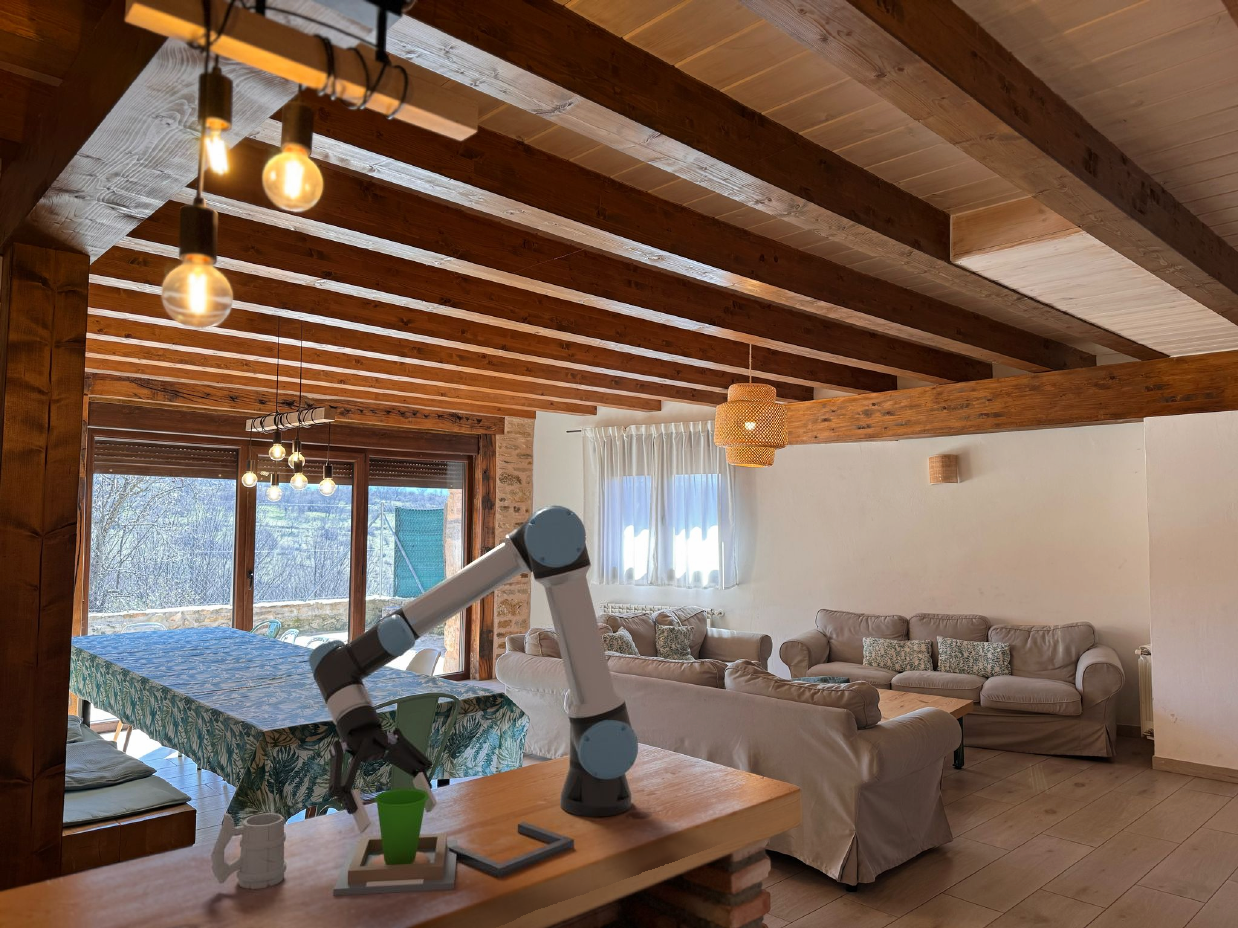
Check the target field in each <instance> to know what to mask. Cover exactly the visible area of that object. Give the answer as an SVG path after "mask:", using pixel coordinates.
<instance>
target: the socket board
mask: <svg viewBox="0 0 1238 928" xmlns="http://www.w3.org/2000/svg"><path fill="white" fill-rule="evenodd" d="M455 845H457V846H458V839H456V840H455V839H454V840H451V839H450V840H448V833H447V832H443V833H441V832H440V833H422V834H421V833H420V835H419V841H418V847H417V852H416V858H415V860H414V862H413V863H412V864H401V865H386V863H385V861H384V855H383V847H382V839H381V835H371V836H360V839H359V841H358V843H356V844H351V845H350V847H349V850H348V852H347V855H346V857H345V860H344V861H343V864H342V867H341V869H340V872H339V874H338V877H337V879H336V882H335V884H334V887H333V889H332V890H333V891H332V892H333V893H332V895H333V896H352V895H368V894H371V895H372V894H388V893H389V894H390V893H407V892H408V893H409V892H424V891H425V892H427V891H428V892H429V891H445V890H450V891H451V890H454V889H455V881H456V880H455V878H456V868H457V867H456V865H457V860H456V853H454V852H451V851H449V847H452V846H455Z"/></svg>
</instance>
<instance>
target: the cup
mask: <svg viewBox="0 0 1238 928" xmlns="http://www.w3.org/2000/svg"><path fill="white" fill-rule="evenodd" d="M427 798H428V794H427V792H425V791H423V790H419V789H416V788H407V787H405V788H403V787H402V788H394V789H390V790H385V791H382V792H380V793H378V794H377V795H376V796H375V798H374V802H375V803H376V804H377V813H378V814H377V815H378V823H379V828H380V836H381V839H382V847H383V855H384V861H385V863H386V865H401V864H412V863H413V862H414V860H415V858H416V852H417V847H418V841H419V835H420V834H421V829H422V825H423V824H422V823H423V818H424V811H425V802H426V799H427Z"/></svg>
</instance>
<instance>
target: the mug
mask: <svg viewBox="0 0 1238 928" xmlns="http://www.w3.org/2000/svg"><path fill="white" fill-rule="evenodd" d="M240 834H241V837H240V839H239V847H240V856H239V857H238V858H236V859H234V860H232V861H231V862H227V861H226V859H225V852H226V851H225V849H226V847H227V845H228V844H229V842H230V840H231V839H232V838H233V837H234V836H237V835H240ZM286 837H287V833H286V832H285V818H284V816H282V814H280V813H273V812H271V813H270V812H267V813H265V812H264V813H261V814H255V815H251V816H249V817H247V818H245V819H244V820H243V822H242V825H238V826H236V825H235V822H234V819H233V817H232V815H231V814H229V813H227V812H224V813H223V823H222V826H221V828H220V831H219V834H218V837H217V839H216V841H215V843H214V847H213V849H212V852H211V854H210V859H211V862H212V863H211V870H212V873H213V875H214V878H216V880H217V882H218V883H219V884H224V883H225V881H226V880H227V879H228V878H229V877H230V876H231V875H232V874H233V873H235V872H236V878H237V879H238V880H237V881H238V886H240V887H241V888H244V889H247V890H248V889H251V890H257V889H259V890H260V889H266V888H267V887H272V886H275V885H277V884H279V883H281V882H282V881H283V880H284V879H285V873H286V871H287V867H288V866H287V862H286V861H285V841H286Z"/></svg>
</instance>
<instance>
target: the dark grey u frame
mask: <svg viewBox="0 0 1238 928" xmlns="http://www.w3.org/2000/svg"><path fill="white" fill-rule="evenodd" d="M517 832H518V833H519V834H522V835H525V836H529V837H530V838H534V839H536V840H537V841H542V842H544V843H547V845H544V846H542V847H539V848H536V849H534V850H531V851H529V852H526V853H523V854H521V855H518V856H515V857H512V858H510V859H507V860H505V861H502V862H499V861H495V860H493V859H491V858H488V857H486V856H484V855H481V854H479V853H477V852H474V851H473V850H472V851H471V850H469V849H467V848H464V847H461V846H459V845H458V844H457V845H455V846H452V847H449V851H451V852H454V853H456V861H459V862H462V863H464V864H466V865H467V866H471V867H473V868H475V869H478V870H480V871H482V872H484V873H487V874H489V875H491V876H494V877H497V878H502V877H504V876H507V875H509V874H512V873H513V872H517V871H519V870H522V869H525V868H527V867H529V866H532V865H535V864H537V863H539V862H543V861H545V860H547V859H549V858H552V857H554V856H557V855H560V854H562V853H564V852H567V851H569V850H572V849H574V848H575V839H574V838H571V837H568V836H564V835H562V834H560V833H557V832H554V831H551V830H548V829H545V828H542V827H540V826H536V825H534V824H532V823H529V822H525V821H523V822H520V823H517Z"/></svg>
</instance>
